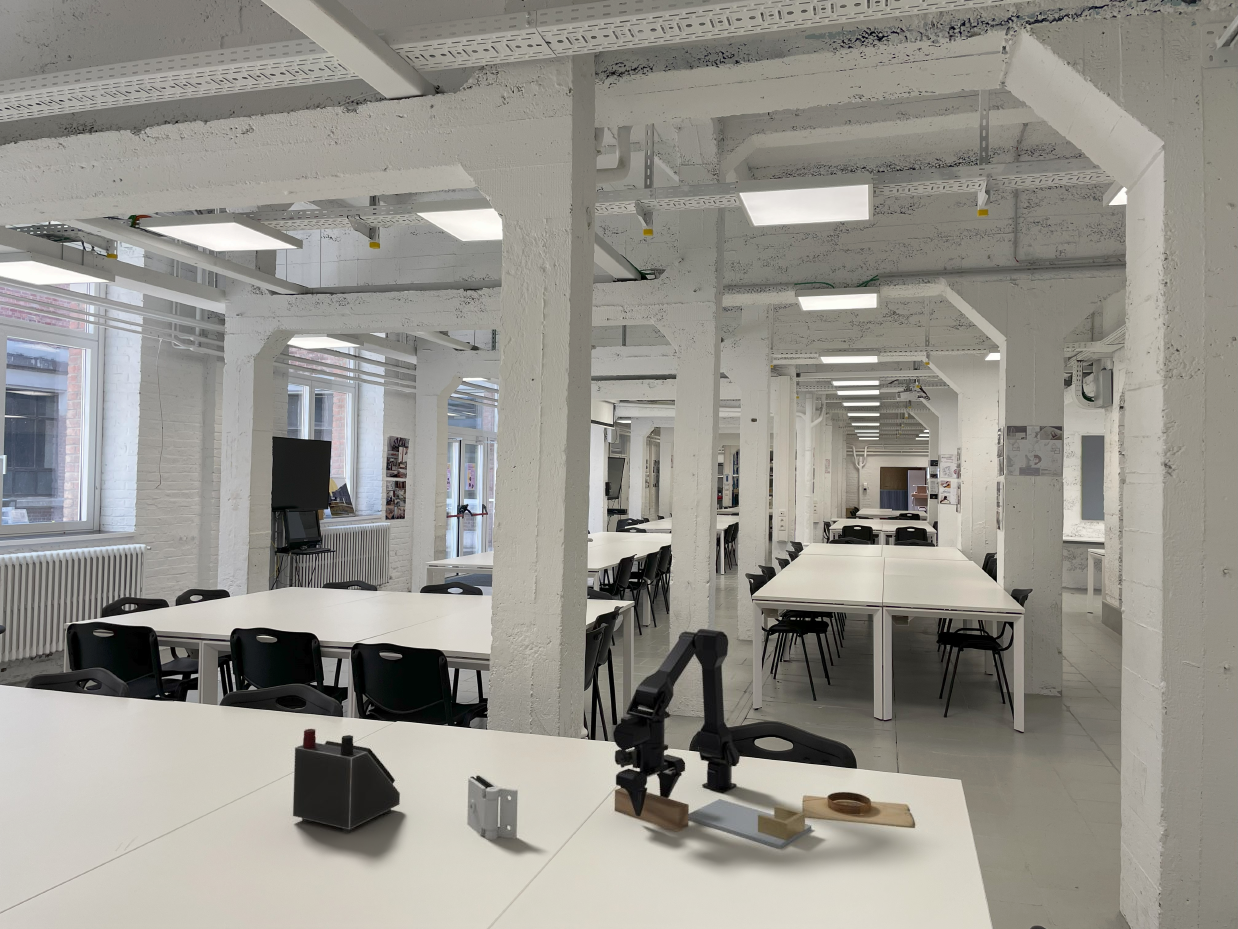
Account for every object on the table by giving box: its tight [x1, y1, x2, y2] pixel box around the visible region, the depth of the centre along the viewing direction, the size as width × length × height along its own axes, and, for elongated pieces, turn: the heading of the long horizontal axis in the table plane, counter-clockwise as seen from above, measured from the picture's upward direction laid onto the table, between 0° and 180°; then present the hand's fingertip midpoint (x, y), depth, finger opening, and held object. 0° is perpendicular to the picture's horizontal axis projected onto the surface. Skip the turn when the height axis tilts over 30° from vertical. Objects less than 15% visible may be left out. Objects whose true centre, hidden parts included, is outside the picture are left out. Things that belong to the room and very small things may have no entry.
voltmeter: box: [292, 728, 401, 833], centre depth 187 cm, size 16×16×20 cm
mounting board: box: [689, 798, 812, 850], centre depth 186 cm, size 14×24×1 cm, turn 50°
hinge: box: [466, 774, 519, 840], centre depth 179 cm, size 14×5×10 cm, turn 46°
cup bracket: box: [758, 805, 806, 841], centre depth 180 cm, size 8×7×4 cm
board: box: [801, 791, 915, 829], centre depth 195 cm, size 25×15×3 cm, turn 78°
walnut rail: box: [614, 787, 690, 832], centre depth 188 cm, size 4×18×5 cm, turn 50°
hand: (650, 810), depth 188 cm, fingers open, 9 cm apart
